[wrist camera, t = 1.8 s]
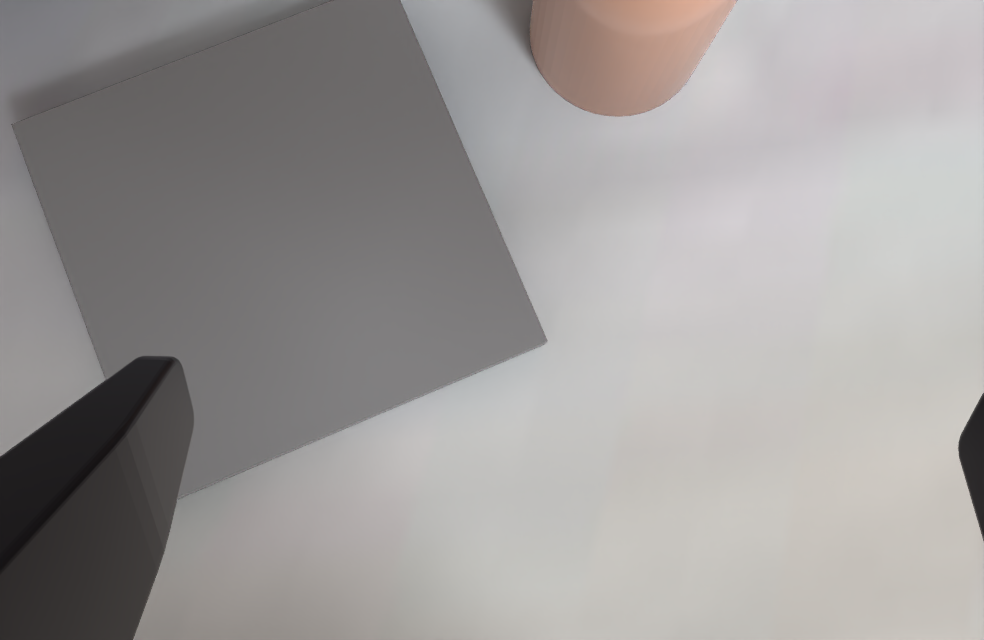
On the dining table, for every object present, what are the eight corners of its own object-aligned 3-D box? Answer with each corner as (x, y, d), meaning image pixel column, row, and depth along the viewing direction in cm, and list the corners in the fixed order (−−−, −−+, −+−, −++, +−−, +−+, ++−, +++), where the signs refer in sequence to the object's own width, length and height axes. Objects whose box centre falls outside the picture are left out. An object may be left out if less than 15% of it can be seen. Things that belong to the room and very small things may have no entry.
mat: (544, 344, 23) (547, 340, 22) (167, 503, 23) (153, 507, 22) (393, -5, 24) (390, -23, 23) (30, 136, 24) (11, 124, 23)
